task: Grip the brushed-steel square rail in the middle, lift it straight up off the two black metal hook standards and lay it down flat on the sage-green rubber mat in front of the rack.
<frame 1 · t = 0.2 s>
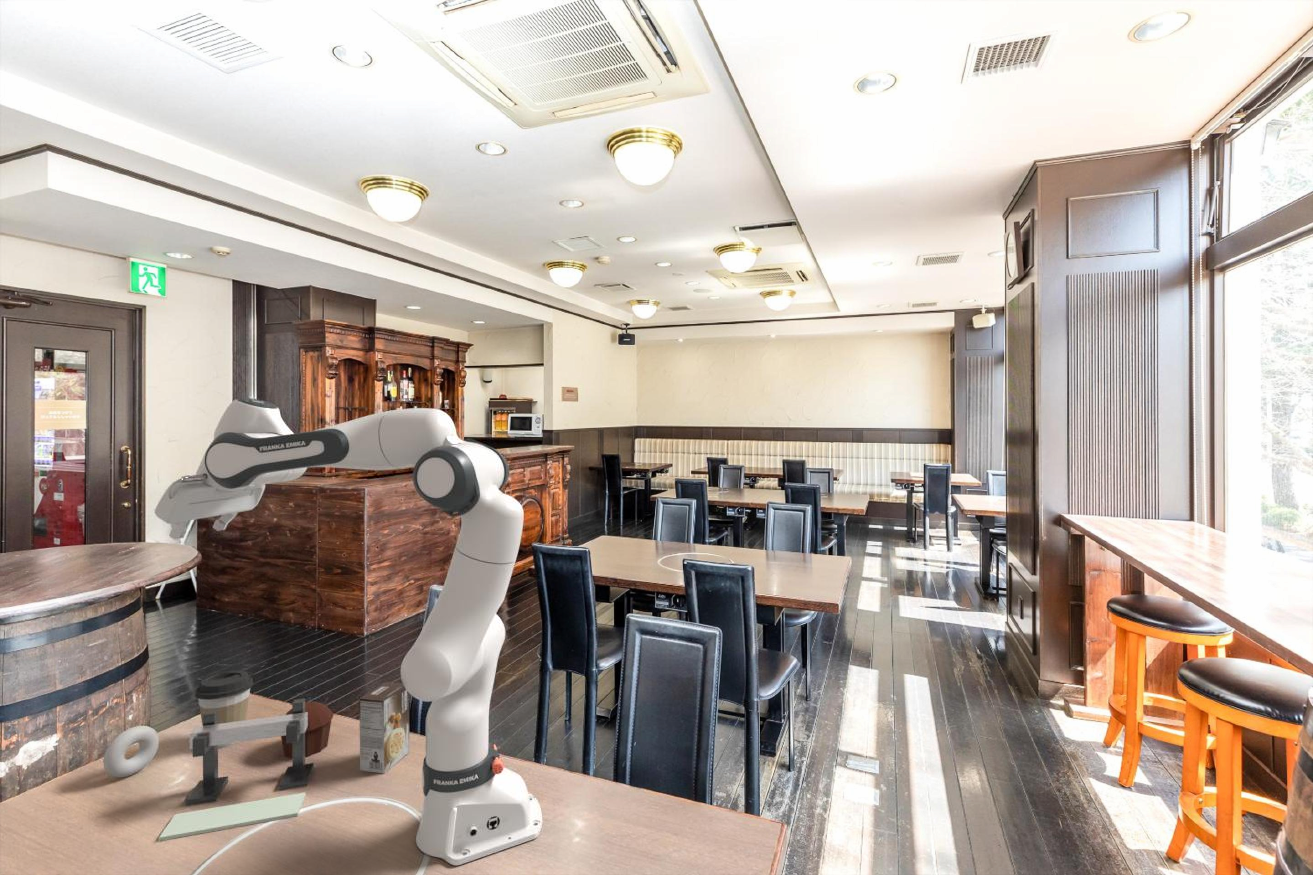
hand: (197, 533, 121), 54 cm above the table, tool tilted 30°, fingers open, 8 cm apart
donut: (132, 774, 130), on the table
rack: (251, 790, 124), on the table
coffee cup: (225, 741, 144), on the table
mat: (236, 816, 116), on the table
rail: (250, 736, 124), point 11 cm above the table, touching rack
coffee box: (385, 762, 135), on the table
muffin: (306, 749, 141), on the table
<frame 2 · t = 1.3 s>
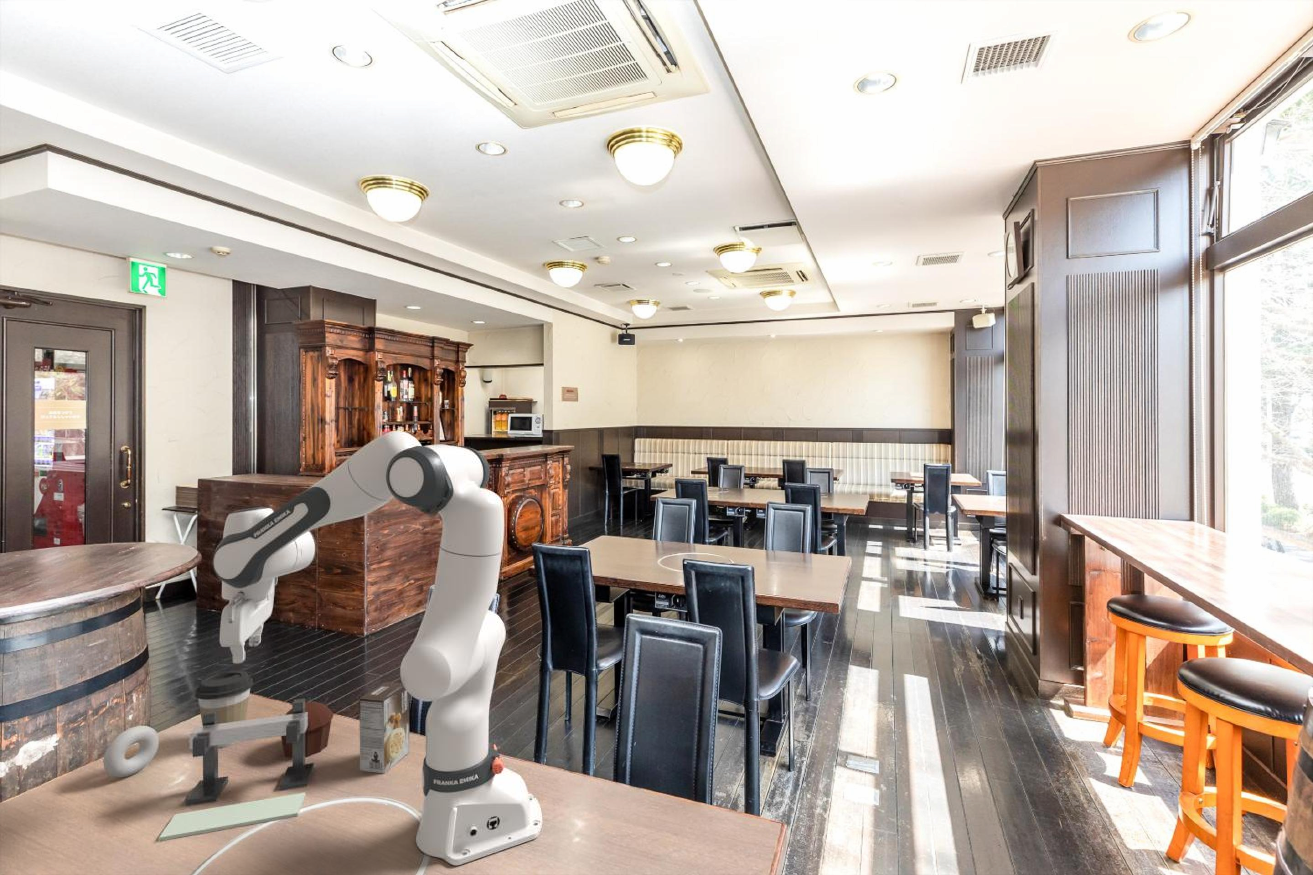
hand: (247, 653, 124), 28 cm above the table, tool pointing down, fingers open, 8 cm apart
nothing on the table moved.
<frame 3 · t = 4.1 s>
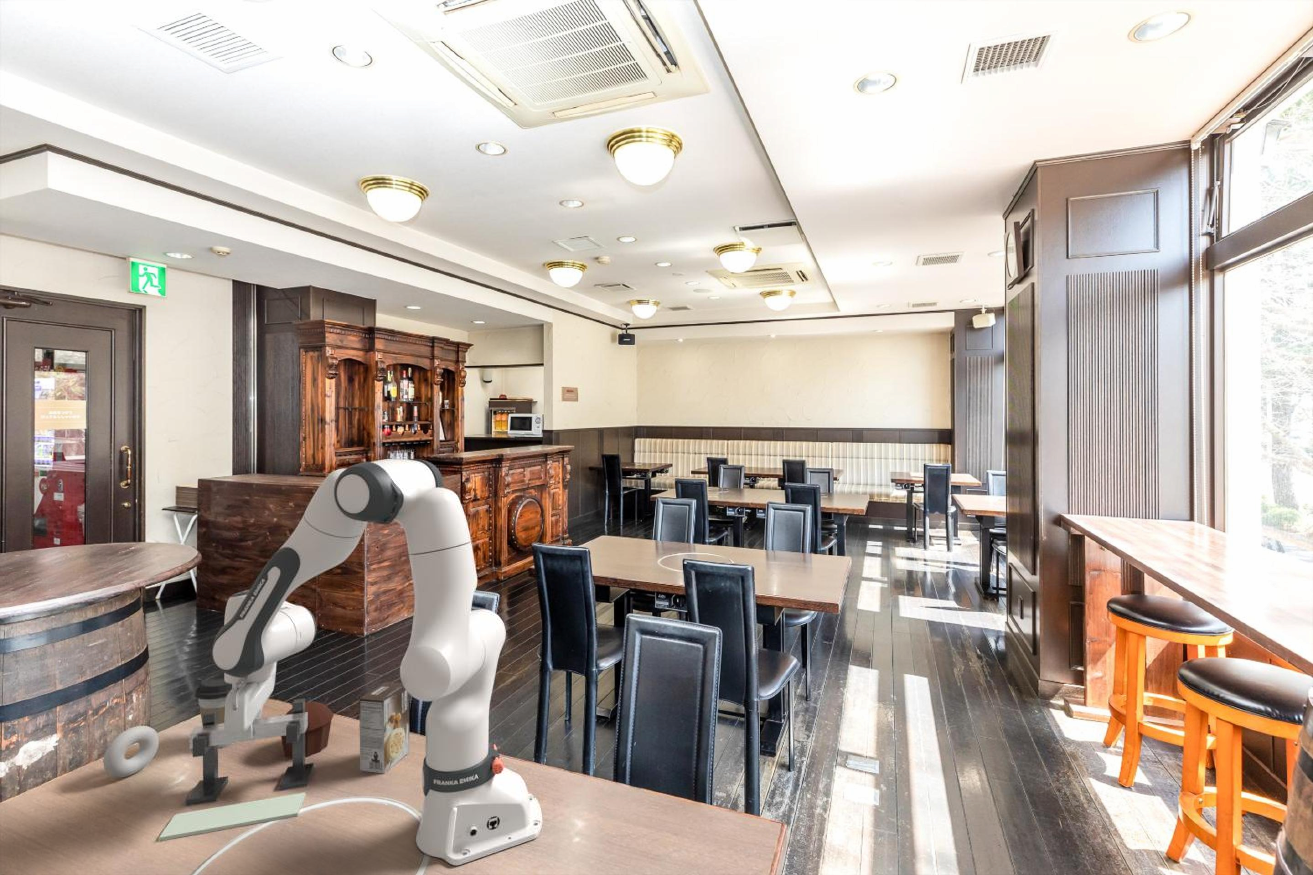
hand: (251, 734, 124), 12 cm above the table, tool pointing down, fingers closed on rail, 3 cm apart
rail: (250, 736, 124), point 11 cm above the table, touching gripper, rack
everything else where it was.
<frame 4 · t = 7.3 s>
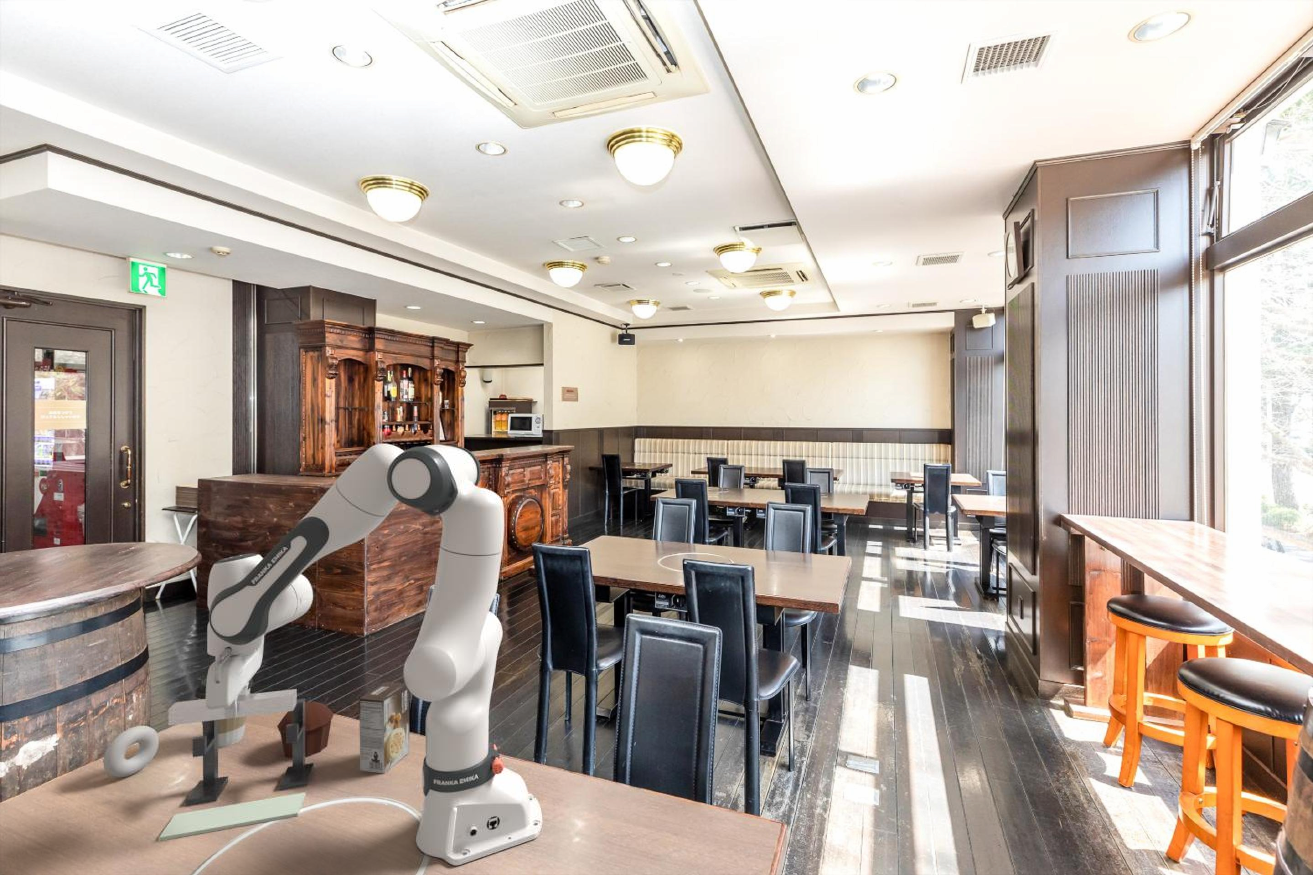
hand: (235, 711, 115), 20 cm above the table, tool pointing down, fingers closed on rail, 3 cm apart
rail: (235, 714, 115), point 20 cm above the table, touching gripper
everything else where it was.
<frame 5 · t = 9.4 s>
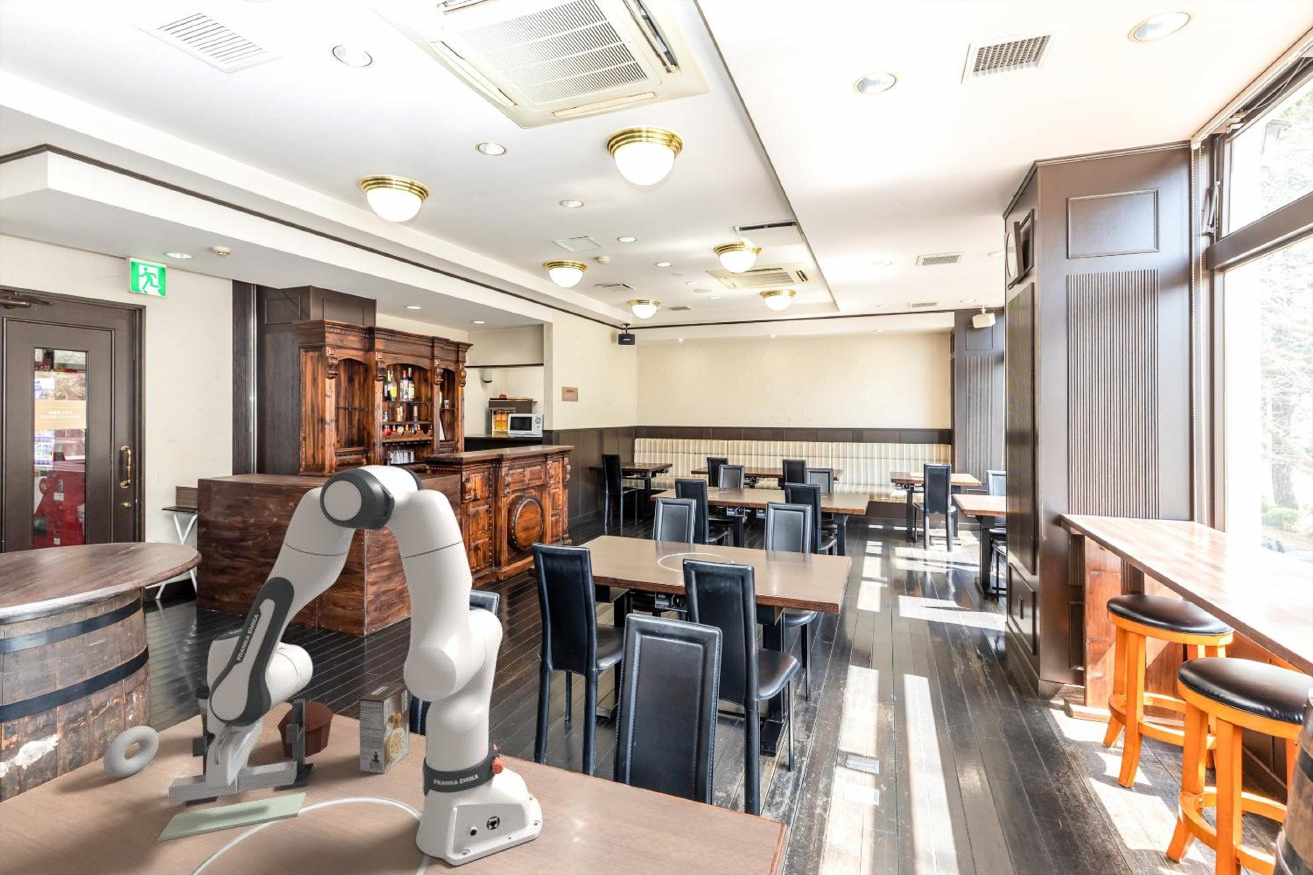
hand: (235, 785, 116), 6 cm above the table, tool pointing down, fingers closed on rail, 3 cm apart
rail: (235, 788, 116), point 5 cm above the table, touching gripper
everything else where it was.
when the fingers open (2 cm above the table, at t = 10.9 s): rail drops 1 cm, resting on mat.
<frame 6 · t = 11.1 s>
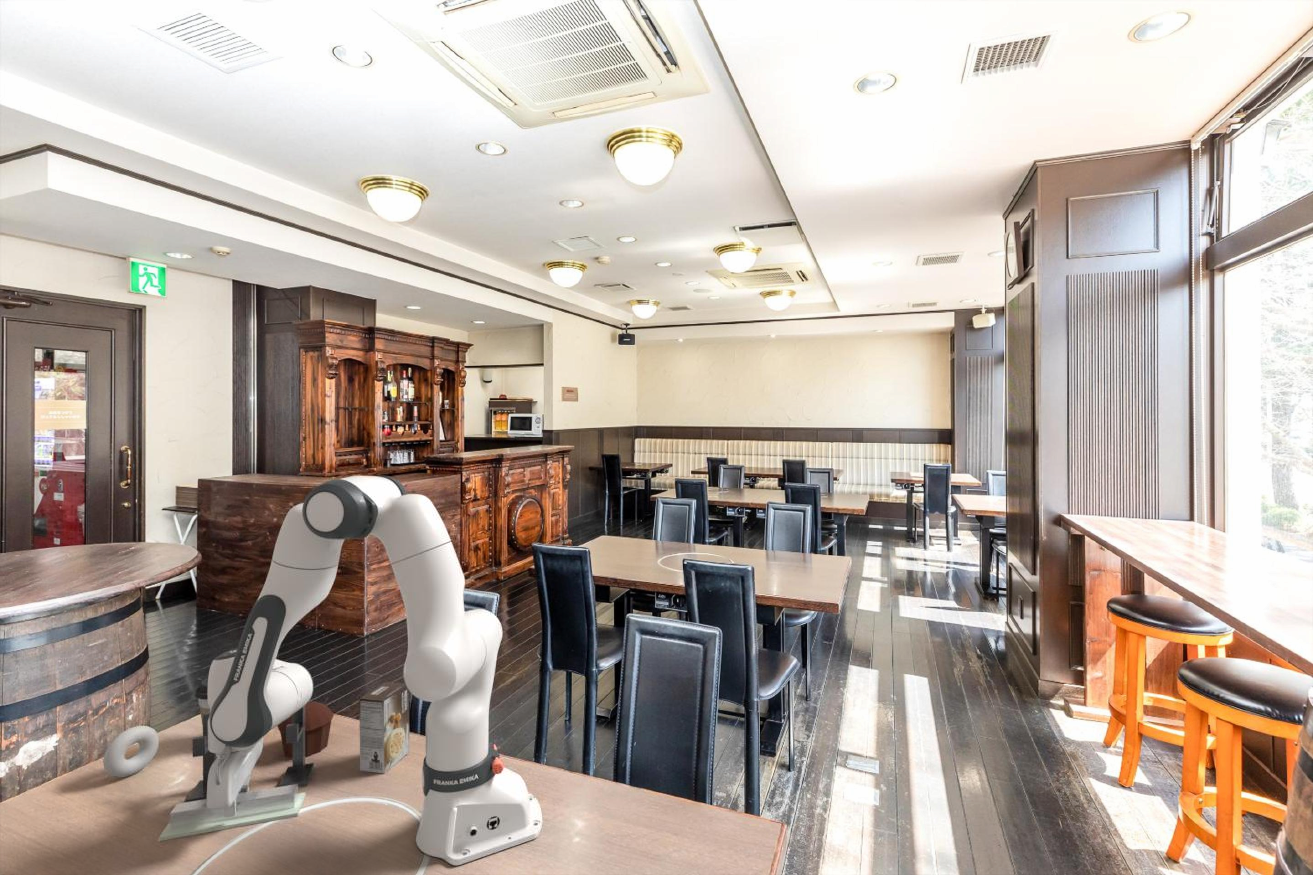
hand: (236, 804, 116), 2 cm above the table, tool pointing down, fingers open, 5 cm apart
rail: (236, 813, 116), point 1 cm above the table, touching mat
everything else where it was.
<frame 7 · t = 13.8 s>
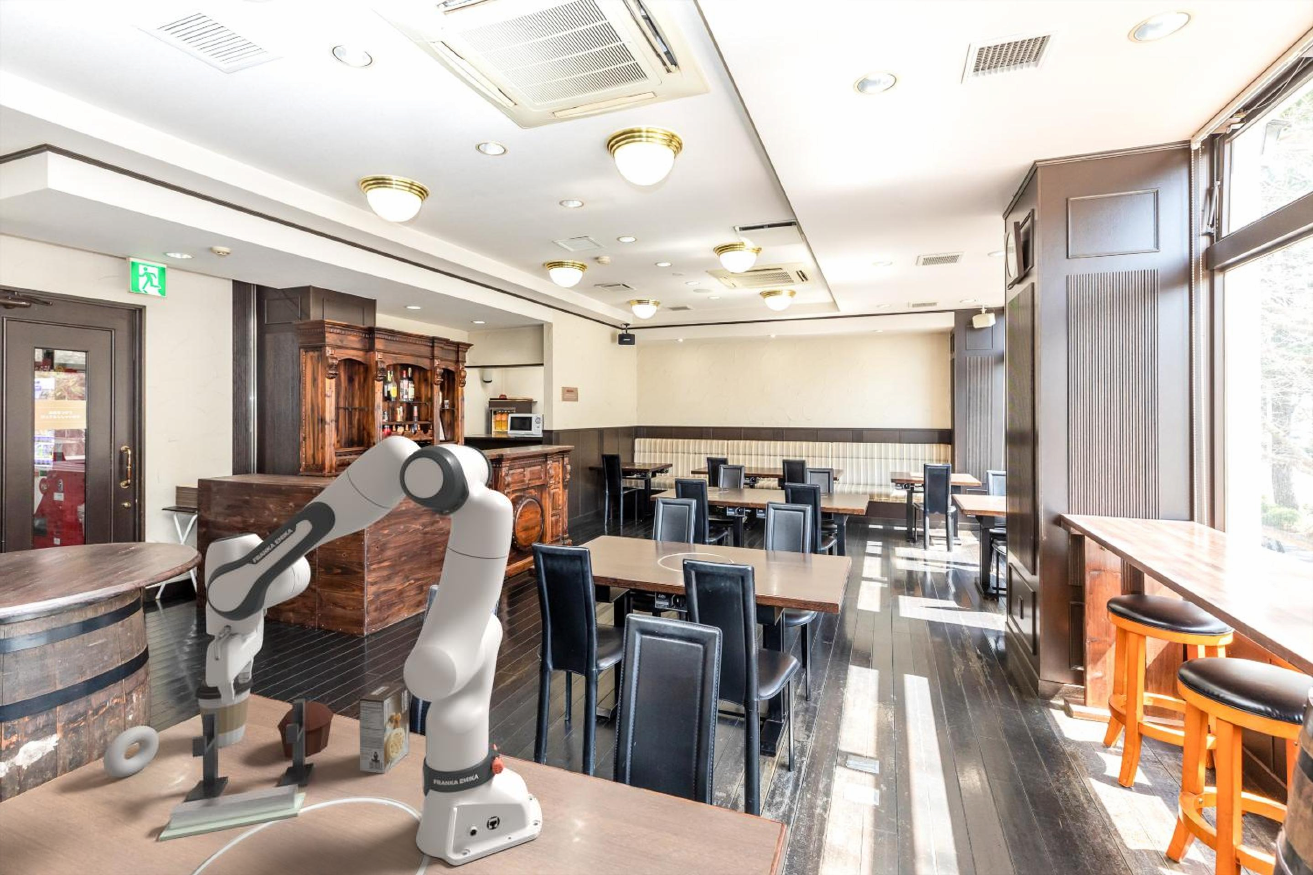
hand: (237, 690, 115), 24 cm above the table, tool pointing down, fingers open, 8 cm apart
nothing on the table moved.
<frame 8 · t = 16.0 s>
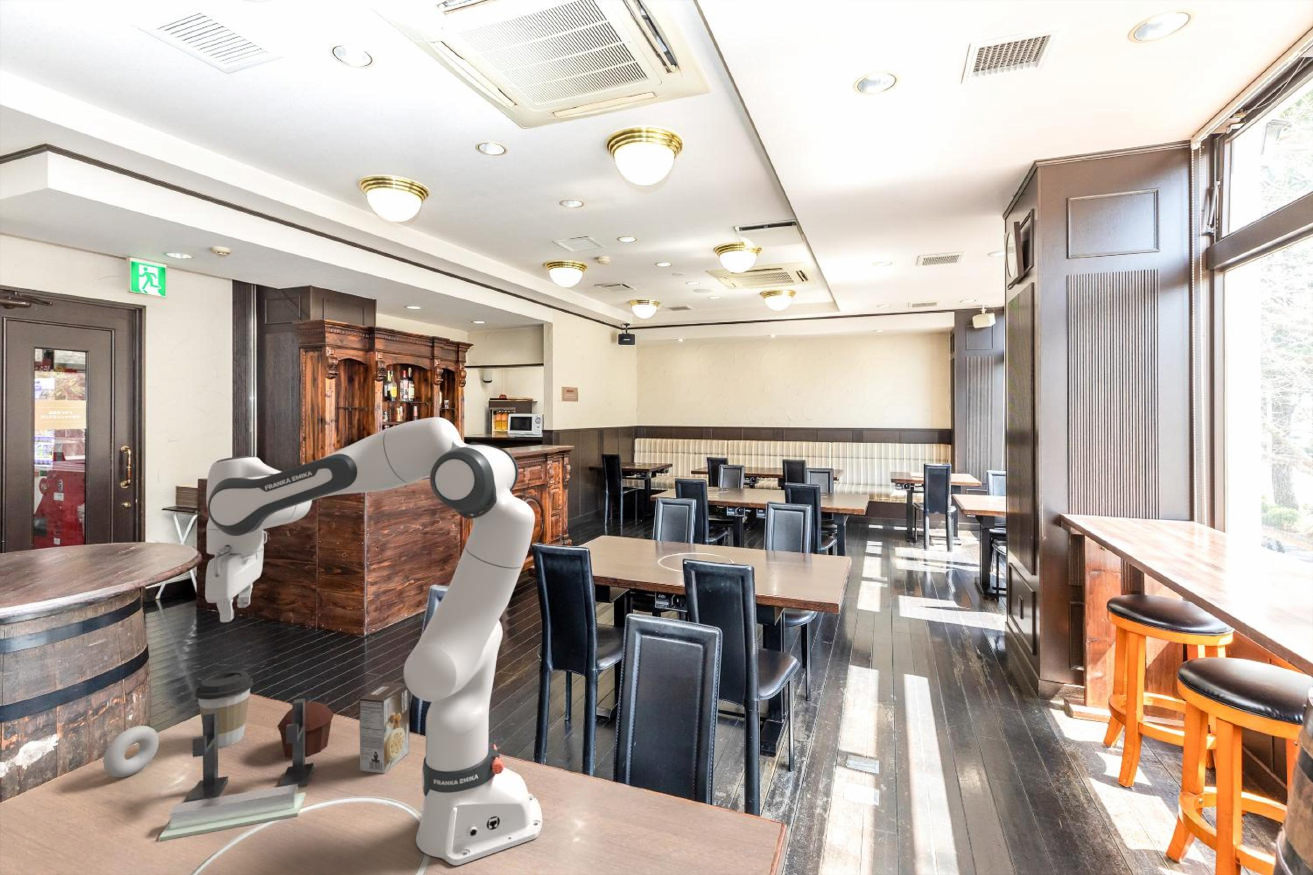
hand: (235, 613, 115), 39 cm above the table, tool pointing down, fingers open, 8 cm apart
nothing on the table moved.
at the end: rail inside the target area (0.0 cm from its centre), point 0.6 cm above the table; rail touching mat; the gripper is holding nothing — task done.
